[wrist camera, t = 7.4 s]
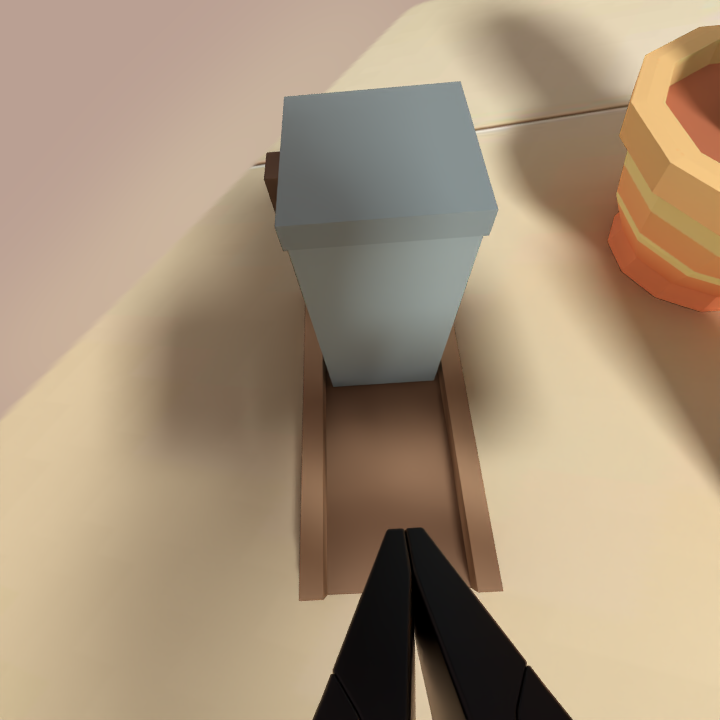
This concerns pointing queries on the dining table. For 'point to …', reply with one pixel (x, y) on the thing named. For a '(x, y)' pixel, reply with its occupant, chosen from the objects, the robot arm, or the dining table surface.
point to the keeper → (382, 223)
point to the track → (386, 469)
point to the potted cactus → (673, 174)
